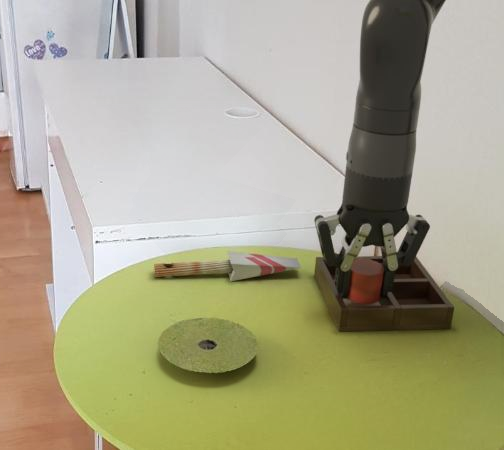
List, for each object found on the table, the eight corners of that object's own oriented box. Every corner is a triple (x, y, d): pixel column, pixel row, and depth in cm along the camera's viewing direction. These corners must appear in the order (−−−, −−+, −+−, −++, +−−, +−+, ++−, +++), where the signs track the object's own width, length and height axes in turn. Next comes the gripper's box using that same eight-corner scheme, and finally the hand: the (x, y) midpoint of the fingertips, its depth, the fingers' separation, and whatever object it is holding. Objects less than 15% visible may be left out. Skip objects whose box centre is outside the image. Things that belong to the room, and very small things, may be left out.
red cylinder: (374, 286, 96) (378, 258, 94) (384, 303, 92) (388, 275, 90) (340, 287, 95) (343, 258, 94) (349, 304, 91) (353, 275, 90)
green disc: (163, 328, 91) (163, 314, 90) (256, 332, 90) (257, 318, 90) (152, 383, 81) (152, 368, 80) (257, 389, 80) (258, 374, 79)
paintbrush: (302, 259, 101) (154, 267, 100) (301, 277, 103) (154, 285, 101) (297, 247, 105) (153, 254, 104) (296, 264, 106) (154, 272, 105)
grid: (412, 275, 105) (415, 255, 104) (450, 329, 92) (454, 307, 91) (313, 276, 104) (315, 256, 103) (338, 331, 91) (341, 309, 90)
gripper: (326, 175, 82) (312, 310, 89) (452, 175, 84) (428, 308, 91) (311, 153, 89) (300, 280, 96) (428, 153, 90) (408, 278, 97)
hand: (362, 293), depth 93 cm, fingers closed on red cylinder, 4 cm apart
